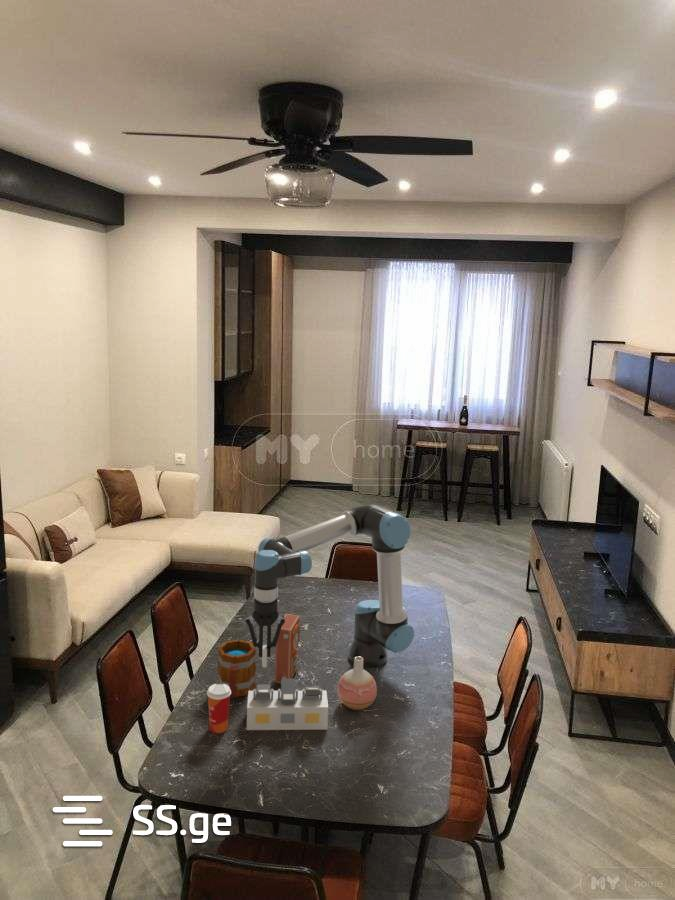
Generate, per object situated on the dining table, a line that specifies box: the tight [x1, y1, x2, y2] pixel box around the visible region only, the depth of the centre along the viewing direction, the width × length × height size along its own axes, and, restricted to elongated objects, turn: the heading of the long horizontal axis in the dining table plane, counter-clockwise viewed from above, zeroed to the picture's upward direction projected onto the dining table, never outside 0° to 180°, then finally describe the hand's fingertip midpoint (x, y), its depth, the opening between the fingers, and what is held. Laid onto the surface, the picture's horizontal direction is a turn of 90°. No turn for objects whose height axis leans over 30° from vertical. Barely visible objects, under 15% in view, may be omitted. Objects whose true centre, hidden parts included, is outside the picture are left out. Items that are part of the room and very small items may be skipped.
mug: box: [217, 638, 257, 698], centre depth 247 cm, size 20×14×15 cm
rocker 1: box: [255, 684, 271, 698], centre depth 230 cm, size 5×9×2 cm, turn 5°
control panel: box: [273, 613, 301, 684], centre depth 259 cm, size 21×7×15 cm
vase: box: [337, 656, 378, 711], centre depth 242 cm, size 14×14×18 cm
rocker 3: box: [304, 686, 321, 695], centre depth 231 cm, size 5×9×2 cm, turn 5°
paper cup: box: [206, 683, 231, 734], centre depth 225 cm, size 8×8×14 cm
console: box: [246, 688, 329, 731], centre depth 231 cm, size 26×10×11 cm, turn 95°
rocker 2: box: [280, 678, 296, 704], centre depth 230 cm, size 5×9×2 cm, turn 5°
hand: (264, 665), depth 231 cm, fingers closed
